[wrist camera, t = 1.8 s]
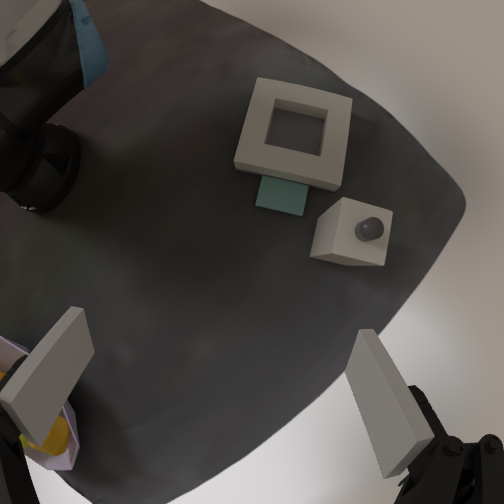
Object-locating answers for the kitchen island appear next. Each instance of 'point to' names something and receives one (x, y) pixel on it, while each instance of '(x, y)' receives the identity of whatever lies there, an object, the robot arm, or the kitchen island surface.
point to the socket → (293, 142)
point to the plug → (352, 234)
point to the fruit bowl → (62, 432)
